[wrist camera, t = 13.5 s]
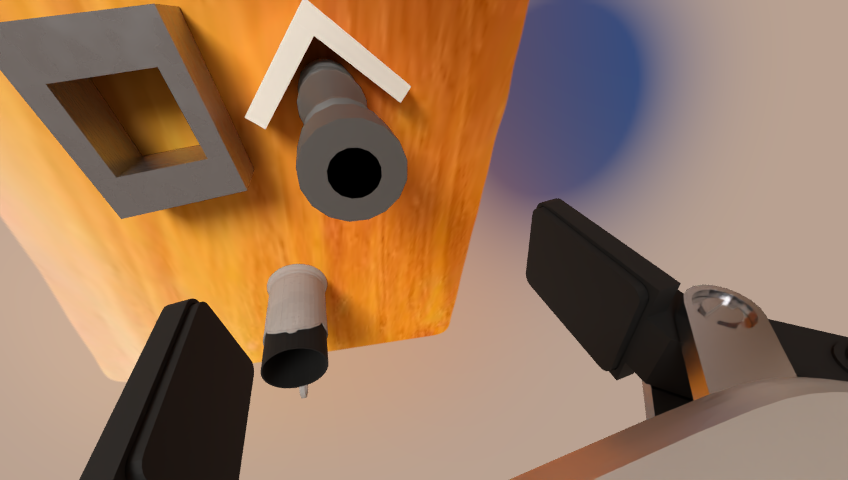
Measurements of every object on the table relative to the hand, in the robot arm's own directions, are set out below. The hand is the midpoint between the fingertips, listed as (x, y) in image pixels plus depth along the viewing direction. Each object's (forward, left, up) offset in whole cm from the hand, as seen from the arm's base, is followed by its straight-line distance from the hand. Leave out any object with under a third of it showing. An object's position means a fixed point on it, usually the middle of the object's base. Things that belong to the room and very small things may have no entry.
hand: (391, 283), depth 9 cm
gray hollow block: (-1, -17, -34) cm, 38 cm away
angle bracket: (-3, 0, -34) cm, 34 cm away
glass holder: (+29, -13, -34) cm, 47 cm away
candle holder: (0, 0, -34) cm, 34 cm away
